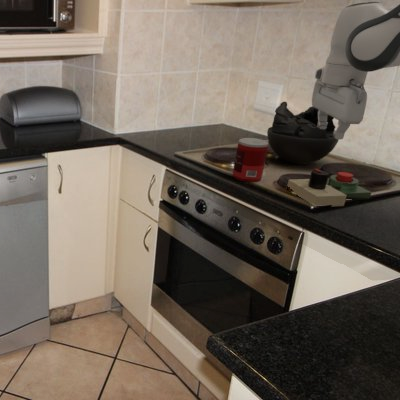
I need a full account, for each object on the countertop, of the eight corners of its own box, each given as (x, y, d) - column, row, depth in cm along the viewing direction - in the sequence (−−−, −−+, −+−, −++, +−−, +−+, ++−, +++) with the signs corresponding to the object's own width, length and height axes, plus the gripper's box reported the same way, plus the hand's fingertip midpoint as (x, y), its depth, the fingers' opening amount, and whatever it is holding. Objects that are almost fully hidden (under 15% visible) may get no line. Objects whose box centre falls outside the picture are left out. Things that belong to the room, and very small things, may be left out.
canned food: (266, 179, 138) (274, 142, 134) (250, 184, 134) (257, 146, 130) (243, 171, 144) (249, 136, 140) (226, 176, 140) (233, 140, 135)
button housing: (369, 200, 124) (373, 185, 123) (341, 201, 123) (345, 186, 122) (339, 184, 134) (343, 171, 133) (313, 185, 133) (317, 172, 132)
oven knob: (328, 189, 123) (333, 173, 121) (314, 189, 122) (318, 174, 120) (318, 183, 126) (322, 168, 125) (304, 184, 126) (308, 168, 124)
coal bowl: (347, 165, 148) (361, 105, 142) (306, 176, 140) (318, 111, 133) (289, 151, 165) (299, 96, 158) (249, 159, 156) (258, 101, 150)
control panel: (344, 206, 120) (347, 194, 119) (314, 207, 119) (317, 195, 118) (313, 188, 131) (316, 177, 130) (285, 189, 130) (288, 178, 129)
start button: (354, 182, 126) (356, 176, 125) (342, 182, 126) (344, 176, 125) (345, 177, 129) (347, 171, 129) (333, 178, 129) (334, 172, 128)
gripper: (381, 84, 103) (363, 145, 108) (339, 70, 121) (325, 124, 127) (350, 83, 103) (333, 144, 109) (313, 70, 122) (300, 123, 128)
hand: (329, 133), depth 118 cm, fingers open, 8 cm apart
